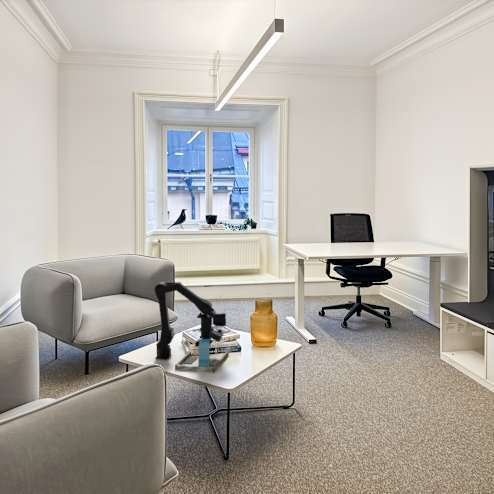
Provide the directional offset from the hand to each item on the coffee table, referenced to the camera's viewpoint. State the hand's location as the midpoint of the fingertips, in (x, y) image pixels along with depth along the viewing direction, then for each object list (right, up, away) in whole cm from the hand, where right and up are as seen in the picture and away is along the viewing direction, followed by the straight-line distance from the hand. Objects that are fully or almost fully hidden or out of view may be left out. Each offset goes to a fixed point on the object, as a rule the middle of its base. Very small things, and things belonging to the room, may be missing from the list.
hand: (206, 354), depth 245 cm
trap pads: (-1, -2, -6) cm, 7 cm away
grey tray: (-1, -2, -6) cm, 6 cm away
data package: (0, -3, -10) cm, 11 cm away
